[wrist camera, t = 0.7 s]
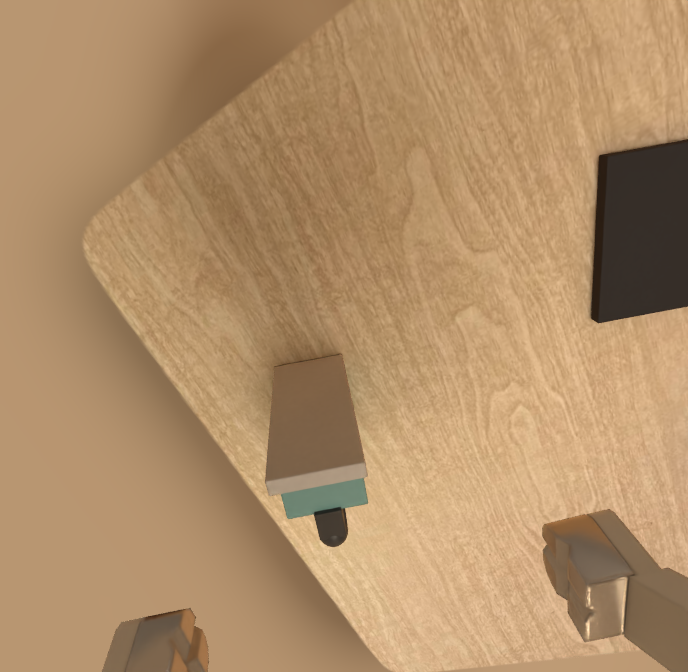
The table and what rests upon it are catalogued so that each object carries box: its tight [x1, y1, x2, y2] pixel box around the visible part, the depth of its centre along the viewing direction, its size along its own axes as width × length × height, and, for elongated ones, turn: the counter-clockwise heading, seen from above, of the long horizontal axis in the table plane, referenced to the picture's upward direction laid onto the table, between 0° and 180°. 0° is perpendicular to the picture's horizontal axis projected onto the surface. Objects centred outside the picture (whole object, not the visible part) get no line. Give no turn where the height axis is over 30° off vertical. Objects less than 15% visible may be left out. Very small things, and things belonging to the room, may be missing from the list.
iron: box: [265, 354, 368, 547], centre depth 32 cm, size 8×5×13 cm
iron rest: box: [591, 140, 688, 323], centre depth 35 cm, size 12×12×1 cm
